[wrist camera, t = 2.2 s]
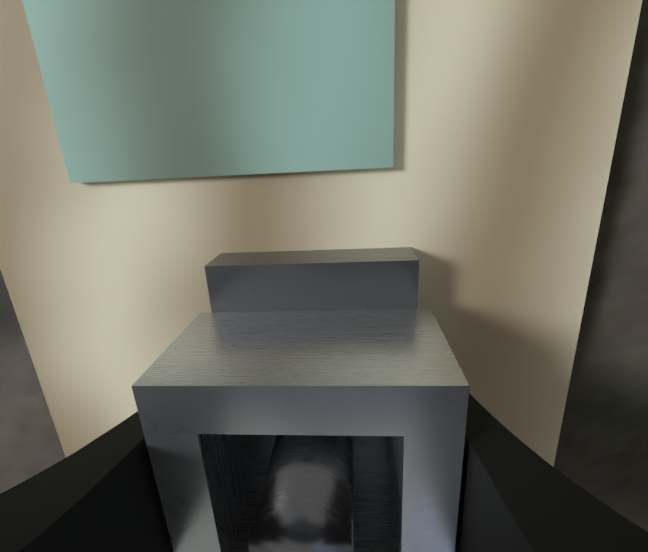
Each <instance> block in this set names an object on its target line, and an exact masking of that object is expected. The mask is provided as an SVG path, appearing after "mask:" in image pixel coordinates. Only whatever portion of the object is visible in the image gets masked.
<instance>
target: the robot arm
mask: <svg viewBox="0 0 648 552" xmlns="http://www.w3.org/2000/svg"><path fill="white" fill-rule="evenodd" d="M0 552H174V551H173V547H172V543H171V539H170V535H169V531H168V527H167V524H166V520H165V516H164V512H163V508H162V504H161V500H160V496H159V492H158V488H157V484H156V480H155V477H154V473H153V469H152V465H151V461H150V457H149V453H148V449H147V445H146V441H145V437H144V433H143V429H142V426H141V422H140V418H139V414H138V411H137V412H136V413H134V414H133V415H131V416H130V417H128V418H127V419H125V420H124V421H123V422H121V423H120V424H118V425H117V426H115V427H113V428H112V429H110V430H109V431H107V432H106V433H104V434H103V435H101V436H99V437H98V438H96V439H95V440H93V441H92V442H90V443H89V444H87V445H86V446H84V447H82V448H81V449H79V450H78V451H76V452H75V453H73V454H71V455H70V456H68V457H66V458H65V459H63V460H61V461H60V462H58V463H56V464H54V465H53V466H51V467H49V468H47V469H46V470H44V471H42V472H40V473H38V474H37V475H35V476H33V477H31V478H29V479H28V480H26V481H24V482H22V483H20V484H19V485H17V486H15V487H13V488H11V489H9V490H7V491H5V492H3V493H1V494H0ZM455 552H648V532H647V531H645V530H643V529H642V528H640V527H639V526H637V525H636V524H634V523H632V522H631V521H629V520H628V519H626V518H625V517H623V516H622V515H620V514H619V513H617V512H616V511H614V510H613V509H611V508H610V507H608V506H607V505H605V504H604V503H602V502H601V501H599V500H598V499H597V498H595V497H594V496H592V495H591V494H590V493H588V492H587V491H585V490H584V489H583V488H581V487H580V486H578V485H577V484H576V483H574V482H573V481H571V480H570V479H569V478H567V477H566V476H564V475H563V474H562V473H561V472H559V471H558V470H557V469H555V468H554V467H553V466H551V465H550V464H549V463H548V462H546V461H545V460H544V459H543V458H541V457H540V456H539V455H538V454H537V453H535V452H534V451H533V450H532V449H530V448H529V447H528V446H527V445H525V444H524V443H523V442H522V441H521V440H520V439H518V438H517V437H516V436H515V435H514V434H513V433H511V432H510V431H509V430H508V429H507V428H506V427H505V426H504V425H502V424H501V423H500V422H499V421H498V420H497V419H496V418H495V417H494V416H493V415H491V414H490V413H489V412H488V411H487V410H486V409H485V408H484V407H483V406H482V405H481V404H480V403H479V402H478V401H477V400H476V399H475V398H474V397H473V396H472V395H471V394H470V393H469V397H468V408H467V419H466V430H465V442H464V453H463V464H462V475H461V486H460V498H459V509H458V520H457V531H456V542H455Z"/></svg>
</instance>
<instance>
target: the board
mask: <svg viewBox="0 0 648 552" xmlns="http://www.w3.org/2000/svg"><path fill="white" fill-rule="evenodd" d="M641 5H642V0H0V269H1V272H2V275H3V278H4V281H5V284H6V286H7V289H8V292H9V295H10V298H11V301H12V304H13V307H14V309H15V312H16V315H17V318H18V321H19V324H20V327H21V330H22V332H23V335H24V338H25V341H26V344H27V347H28V350H29V353H30V356H31V358H32V361H33V364H34V367H35V370H36V373H37V376H38V379H39V381H40V384H41V387H42V390H43V393H44V396H45V399H46V402H47V405H48V407H49V410H50V413H51V416H52V419H53V422H54V425H55V428H56V430H57V433H58V436H59V439H60V442H61V445H62V448H63V451H64V454H65V456H66V457H68V456H70V455H71V454H73V453H75V452H76V451H78V450H79V449H81V448H82V447H84V446H86V445H87V444H89V443H90V442H92V441H93V440H95V439H96V438H98V437H99V436H101V435H103V434H104V433H106V432H107V431H109V430H110V429H112V428H113V427H115V426H117V425H118V424H120V423H121V422H123V421H124V420H125V419H127V418H128V417H130V416H131V415H133V414H134V413H136V412H137V411H138V410H137V406H136V402H135V398H134V394H133V390H132V385H133V384H134V383H135V382H136V381H137V379H138V378H139V377H140V376H141V375H142V374H143V373H144V372H145V371H146V370H147V369H148V368H149V367H150V366H151V365H152V363H153V362H154V361H155V360H156V359H157V358H158V357H159V356H160V355H161V354H162V353H163V352H164V351H165V350H166V349H167V347H168V346H169V345H170V344H171V343H172V342H173V341H174V340H175V339H176V338H177V337H178V336H179V335H180V334H181V333H182V332H183V330H184V329H185V328H186V327H187V326H188V325H189V324H190V323H191V322H192V321H193V320H194V319H195V318H196V317H197V316H198V314H199V313H212V311H211V305H210V298H209V292H208V286H207V280H206V274H205V267H204V266H205V265H207V264H208V263H209V262H210V261H212V260H213V259H214V258H216V257H217V256H218V255H219V254H221V253H238V252H270V251H302V250H334V249H366V248H399V247H411V248H412V250H413V251H414V253H415V254H416V256H417V257H418V259H419V281H418V309H431V311H432V313H433V315H434V317H435V319H436V321H437V323H438V325H439V327H440V329H441V330H442V332H443V334H444V336H445V338H446V340H447V342H448V344H449V346H450V348H451V350H452V352H453V354H454V356H455V358H456V360H457V362H458V364H459V366H460V368H461V370H462V372H463V374H464V376H465V378H466V380H467V382H468V384H469V393H470V394H471V395H472V396H473V397H474V398H475V399H476V400H477V401H478V402H479V403H480V404H481V405H482V406H483V407H484V408H485V409H486V410H487V411H488V412H489V413H490V414H491V415H493V416H494V417H495V418H496V419H497V420H498V421H499V422H500V423H501V424H502V425H504V426H505V427H506V428H507V429H508V430H509V431H510V432H511V433H513V434H514V435H515V436H516V437H517V438H518V439H520V440H521V441H522V442H523V443H524V444H525V445H527V446H528V447H529V448H530V449H532V450H533V451H534V452H535V453H537V454H538V455H539V456H540V457H541V458H543V459H544V460H545V461H546V462H548V463H549V464H550V465H551V466H553V467H554V462H555V457H556V451H557V446H558V441H559V436H560V430H561V425H562V420H563V415H564V409H565V404H566V399H567V394H568V388H569V383H570V378H571V373H572V367H573V362H574V357H575V352H576V346H577V341H578V336H579V331H580V325H581V320H582V315H583V310H584V304H585V299H586V294H587V289H588V283H589V278H590V273H591V268H592V262H593V257H594V252H595V247H596V241H597V236H598V231H599V226H600V221H601V215H602V210H603V205H604V200H605V194H606V189H607V184H608V179H609V173H610V168H611V163H612V158H613V152H614V147H615V142H616V137H617V131H618V126H619V121H620V116H621V110H622V105H623V100H624V95H625V89H626V84H627V79H628V74H629V68H630V63H631V58H632V53H633V47H634V42H635V37H636V32H637V26H638V21H639V16H640V11H641Z"/></svg>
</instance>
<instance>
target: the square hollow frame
mask: <svg viewBox="0 0 648 552" xmlns="http://www.w3.org/2000/svg"><path fill="white" fill-rule="evenodd" d="M132 390H133V394H134V398H135V402H136V406H137V410H138V414H139V418H140V422H141V426H142V429H143V433H144V437H145V441H146V445H147V449H148V453H149V457H150V461H151V465H152V469H153V473H154V477H155V480H156V484H157V488H158V492H159V496H160V500H161V504H162V508H163V512H164V516H165V520H166V524H167V527H168V531H169V535H170V539H171V543H172V547H173V551H174V552H249V546H248V542H249V537H250V533H251V529H252V525H253V522H254V518H255V514H256V510H257V506H258V503H259V499H260V495H261V491H262V487H263V484H264V480H265V476H266V472H267V469H268V465H269V461H270V460H259V453H258V446H257V438H256V435H330V436H387V462H371V461H353V552H455V542H456V531H457V520H458V509H459V498H460V486H461V475H462V464H463V453H464V442H465V430H466V419H467V408H468V397H469V384H468V382H467V380H466V378H465V376H464V374H463V372H462V370H461V368H460V366H459V364H458V362H457V360H456V358H455V356H454V354H453V352H452V350H451V348H450V346H449V344H448V342H447V340H446V338H445V336H444V334H443V332H442V330H441V329H440V327H439V325H438V323H437V321H436V319H435V317H434V315H433V313H432V311H431V309H391V310H334V311H276V312H219V313H199V314H198V316H197V317H196V318H195V319H194V320H193V321H192V322H191V323H190V324H189V325H188V326H187V327H186V328H185V329H184V330H183V332H182V333H181V334H180V335H179V336H178V337H177V338H176V339H175V340H174V341H173V342H172V343H171V344H170V345H169V346H168V347H167V349H166V350H165V351H164V352H163V353H162V354H161V355H160V356H159V357H158V358H157V359H156V360H155V361H154V362H153V363H152V365H151V366H150V367H149V368H148V369H147V370H146V371H145V372H144V373H143V374H142V375H141V376H140V377H139V378H138V379H137V381H136V382H135V383H134V384H133V385H132Z"/></svg>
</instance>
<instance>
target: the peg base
mask: <svg viewBox="0 0 648 552" xmlns="http://www.w3.org/2000/svg"><path fill="white" fill-rule="evenodd" d="M204 267H205V274H206V280H207V286H208V292H209V298H210V305H211V311H212V313H219V312H276V311H334V310H391V309H418V281H419V259H418V257H417V256H416V254H415V253H414V251H413V250H412V248H411V247H399V248H366V249H334V250H302V251H270V252H238V253H221V254H219V255H218V256H217V257H216V258H214V259H213V260H212V261H210V262H209V263H208V264H207V265H205V266H204ZM256 438H257V446H258V453H259V460H270V461H269V465H268V469H267V472H266V476H265V480H264V484H263V487H262V491H261V495H260V499H259V503H258V506H257V510H256V514H255V518H254V522H253V525H252V529H251V533H250V537H249V542H248V546H249V552H353V461H371V462H387V436H330V435H256Z"/></svg>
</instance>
